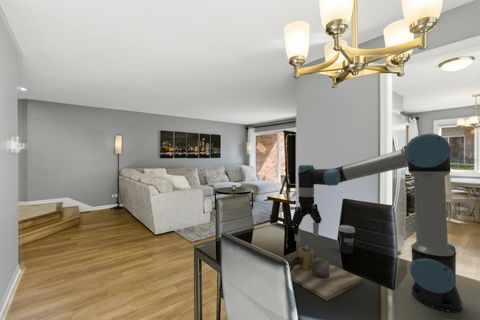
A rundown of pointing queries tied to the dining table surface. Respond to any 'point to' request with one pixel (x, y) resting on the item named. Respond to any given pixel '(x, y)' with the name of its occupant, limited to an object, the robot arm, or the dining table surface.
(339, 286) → the carrier
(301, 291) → the dining table surface
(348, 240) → the coffee cup
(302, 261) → the tan piece
